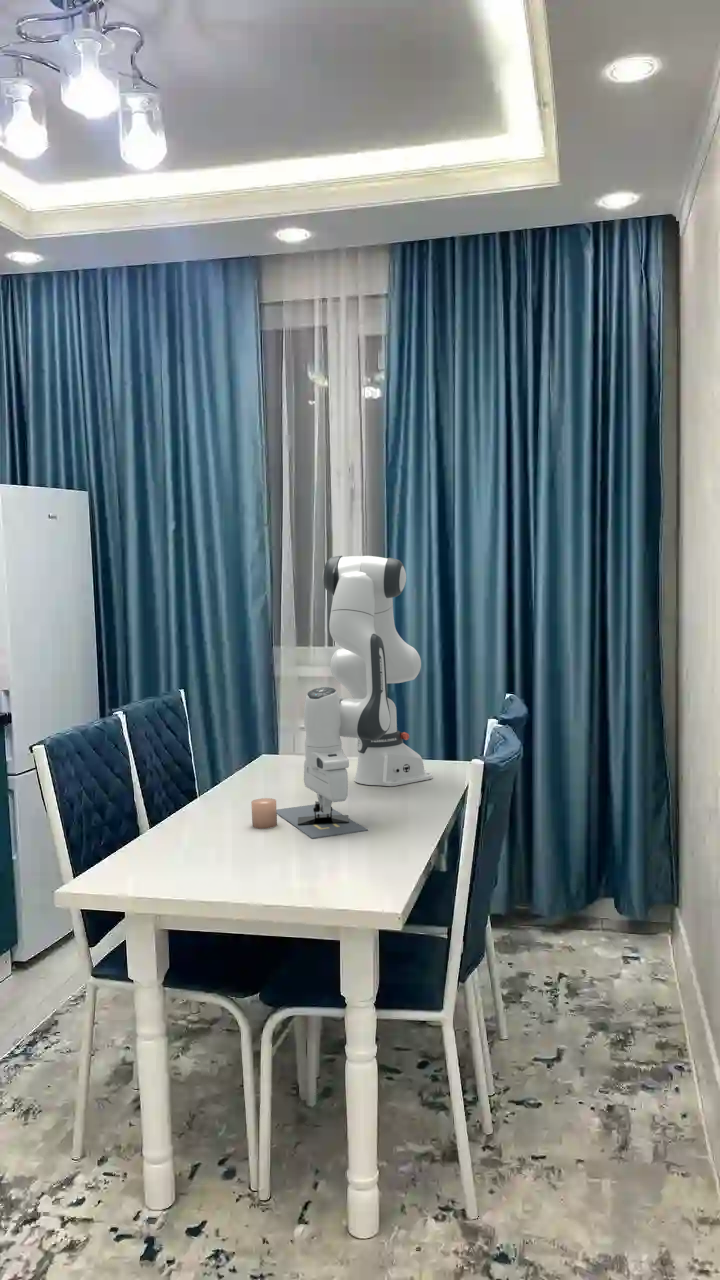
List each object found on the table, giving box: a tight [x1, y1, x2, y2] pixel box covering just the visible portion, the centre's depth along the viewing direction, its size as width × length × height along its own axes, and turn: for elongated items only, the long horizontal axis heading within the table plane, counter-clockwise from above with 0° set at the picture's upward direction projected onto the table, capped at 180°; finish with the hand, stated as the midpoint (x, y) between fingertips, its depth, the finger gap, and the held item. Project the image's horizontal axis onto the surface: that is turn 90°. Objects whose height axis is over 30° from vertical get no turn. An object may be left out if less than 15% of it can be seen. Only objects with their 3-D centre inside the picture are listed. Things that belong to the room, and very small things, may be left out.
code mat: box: [276, 803, 368, 840], centre depth 247 cm, size 14×29×1 cm, turn 23°
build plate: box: [298, 800, 350, 825], centre depth 245 cm, size 12×7×5 cm, turn 93°
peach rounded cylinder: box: [250, 797, 278, 830], centre depth 244 cm, size 6×6×6 cm
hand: (325, 812), depth 242 cm, fingers closed
